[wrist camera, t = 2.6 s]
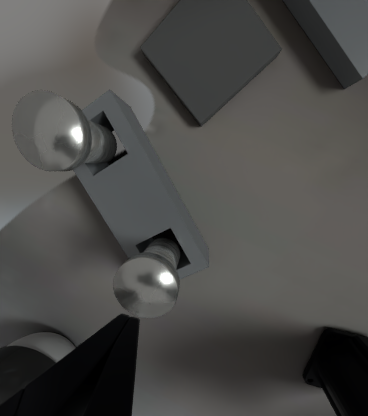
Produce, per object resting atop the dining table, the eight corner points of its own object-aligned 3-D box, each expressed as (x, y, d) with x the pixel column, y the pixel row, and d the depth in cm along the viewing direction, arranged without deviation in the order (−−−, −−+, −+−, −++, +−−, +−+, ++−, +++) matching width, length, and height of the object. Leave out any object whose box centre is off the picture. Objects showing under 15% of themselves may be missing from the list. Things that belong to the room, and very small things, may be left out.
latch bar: (208, 248, 16) (209, 266, 13) (159, 270, 17) (149, 292, 14) (130, 106, 15) (109, 89, 11) (81, 141, 16) (50, 133, 13)
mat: (201, 126, 14) (200, 124, 13) (143, 54, 14) (140, 47, 13) (277, 56, 13) (281, 48, 12) (216, -29, 12) (216, -43, 11)
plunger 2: (181, 279, 14) (170, 325, 10) (138, 267, 14) (109, 308, 10) (191, 237, 13) (183, 268, 9) (144, 226, 13) (116, 251, 9)
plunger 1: (120, 175, 13) (78, 178, 9) (74, 165, 13) (12, 163, 9) (126, 122, 12) (83, 97, 8) (77, 113, 12) (10, 83, 8)
